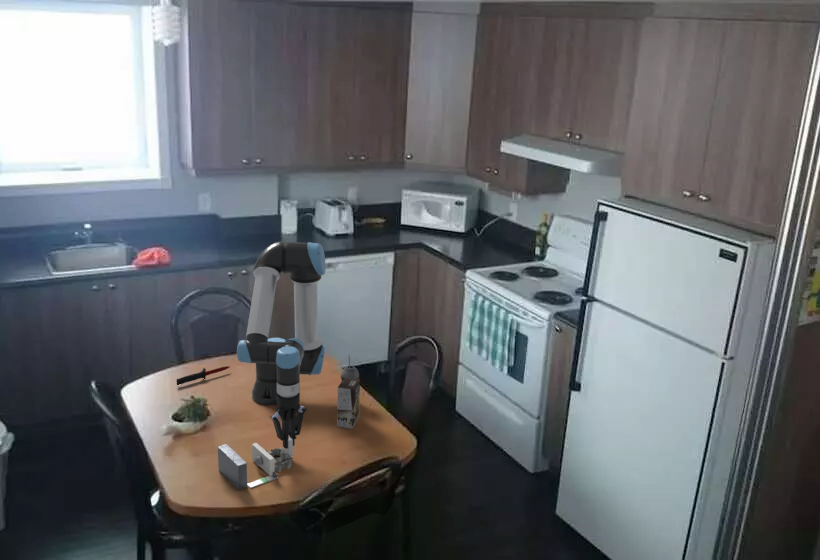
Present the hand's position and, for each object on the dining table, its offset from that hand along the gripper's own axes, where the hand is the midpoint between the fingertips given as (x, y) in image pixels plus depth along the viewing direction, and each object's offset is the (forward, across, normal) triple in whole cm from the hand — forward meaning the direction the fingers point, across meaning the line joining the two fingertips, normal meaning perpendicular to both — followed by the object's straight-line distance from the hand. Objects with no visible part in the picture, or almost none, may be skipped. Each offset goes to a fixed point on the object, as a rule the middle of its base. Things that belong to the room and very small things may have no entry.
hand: (288, 454), depth 268 cm
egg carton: (+2, -4, 0) cm, 5 cm away
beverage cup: (+2, +40, +21) cm, 45 cm away
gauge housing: (+1, -15, 0) cm, 15 cm away
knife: (+2, +3, +71) cm, 71 cm away
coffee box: (+2, +31, +9) cm, 32 cm away
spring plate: (+1, -11, -1) cm, 11 cm away
